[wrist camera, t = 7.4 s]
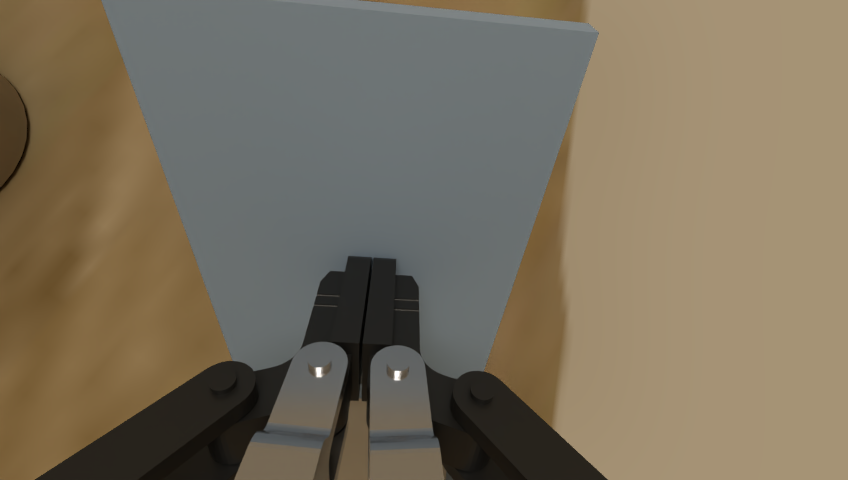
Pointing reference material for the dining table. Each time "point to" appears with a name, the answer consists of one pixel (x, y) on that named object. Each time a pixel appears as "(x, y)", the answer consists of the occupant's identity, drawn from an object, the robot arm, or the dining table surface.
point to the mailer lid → (353, 153)
